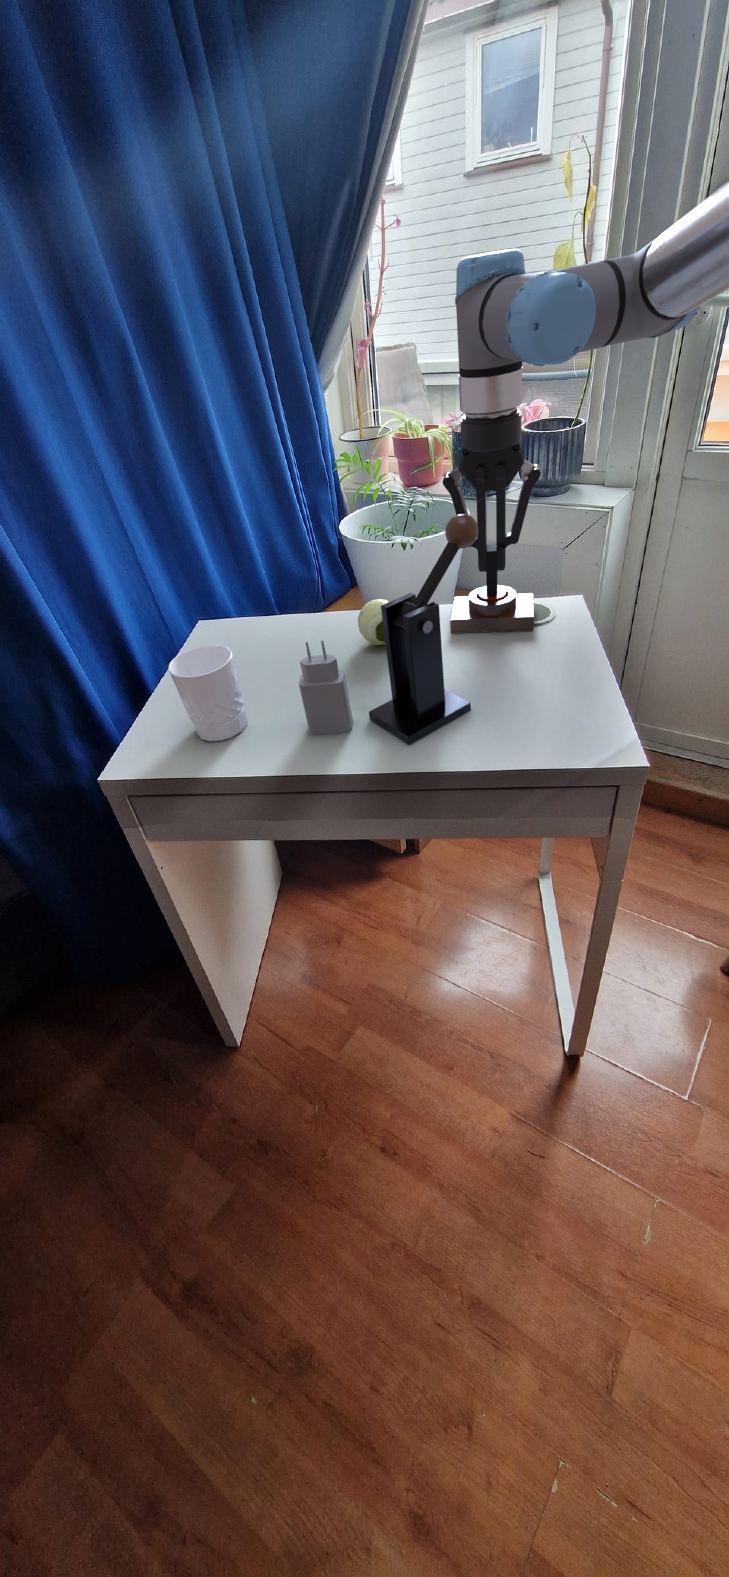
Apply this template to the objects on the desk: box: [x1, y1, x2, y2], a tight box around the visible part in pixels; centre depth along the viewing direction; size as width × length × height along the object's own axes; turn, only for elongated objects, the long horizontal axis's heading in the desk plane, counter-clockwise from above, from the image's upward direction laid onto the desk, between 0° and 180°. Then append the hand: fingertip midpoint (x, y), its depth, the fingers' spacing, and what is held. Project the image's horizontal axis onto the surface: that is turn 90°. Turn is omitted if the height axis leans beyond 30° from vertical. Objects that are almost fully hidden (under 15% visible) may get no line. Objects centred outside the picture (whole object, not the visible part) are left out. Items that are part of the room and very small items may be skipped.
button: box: [479, 588, 506, 602], centre depth 97 cm, size 4×4×2 cm
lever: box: [393, 514, 478, 632], centre depth 73 cm, size 14×4×4 cm
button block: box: [449, 584, 535, 634], centre depth 98 cm, size 12×8×4 cm, turn 79°
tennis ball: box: [357, 598, 390, 647], centre depth 96 cm, size 6×7×7 cm
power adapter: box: [298, 640, 354, 736], centre depth 79 cm, size 3×5×12 cm, turn 86°
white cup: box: [167, 644, 248, 742], centre depth 83 cm, size 8×8×10 cm
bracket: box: [368, 592, 472, 746], centre depth 77 cm, size 10×8×15 cm
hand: (492, 591), depth 96 cm, fingers closed
